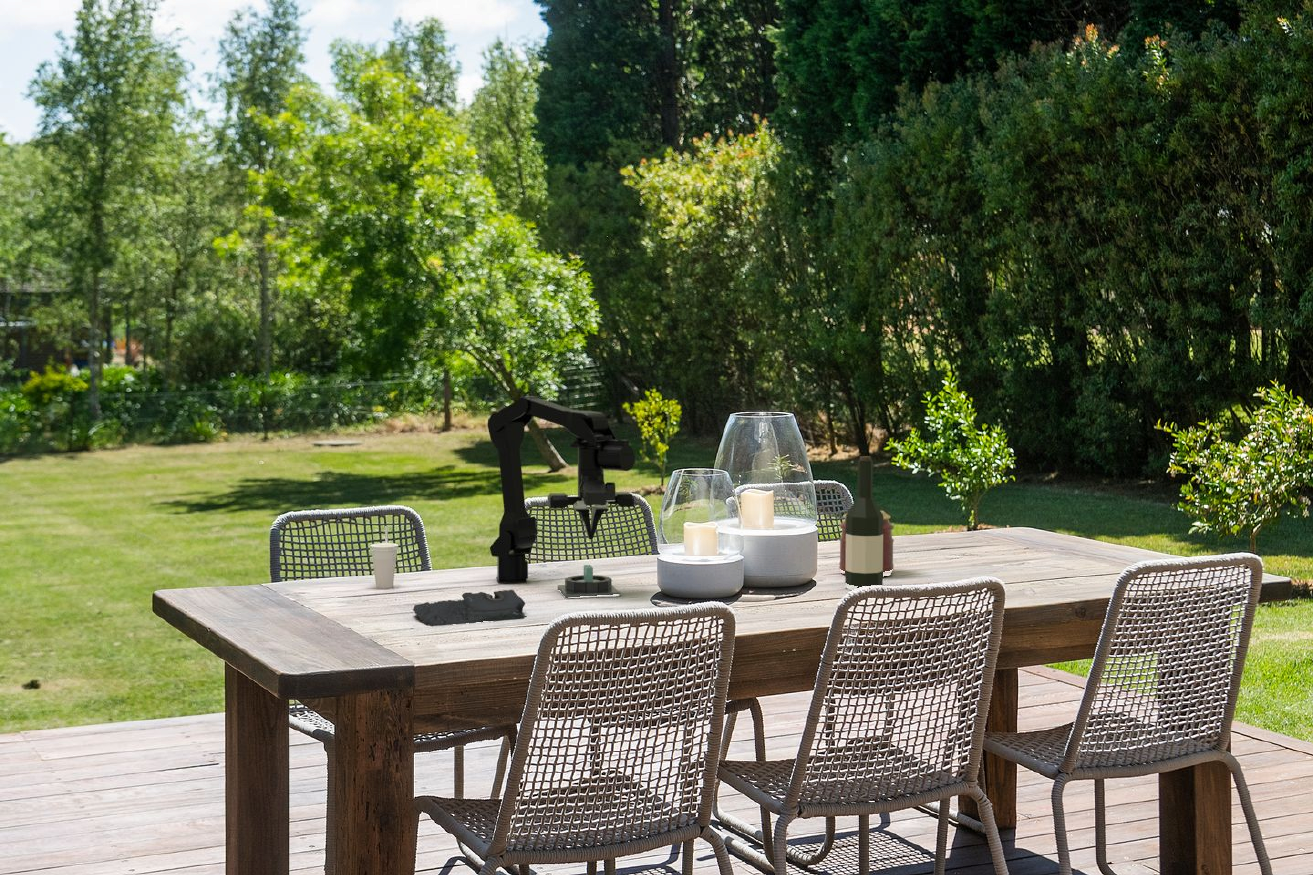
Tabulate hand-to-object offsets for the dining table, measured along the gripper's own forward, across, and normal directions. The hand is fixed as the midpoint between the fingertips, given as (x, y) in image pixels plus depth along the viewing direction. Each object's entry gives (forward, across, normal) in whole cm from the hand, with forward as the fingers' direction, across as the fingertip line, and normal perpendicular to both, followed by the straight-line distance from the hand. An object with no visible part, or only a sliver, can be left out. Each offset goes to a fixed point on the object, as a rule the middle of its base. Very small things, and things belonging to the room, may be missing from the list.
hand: (590, 538), depth 295 cm
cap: (+11, -1, -1) cm, 11 cm away
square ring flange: (+12, -1, -1) cm, 12 cm away
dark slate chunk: (+13, -28, -22) cm, 38 cm away
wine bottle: (+12, +61, -7) cm, 63 cm away
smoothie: (+12, -45, +15) cm, 49 cm away
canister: (+12, +69, +12) cm, 71 cm away
